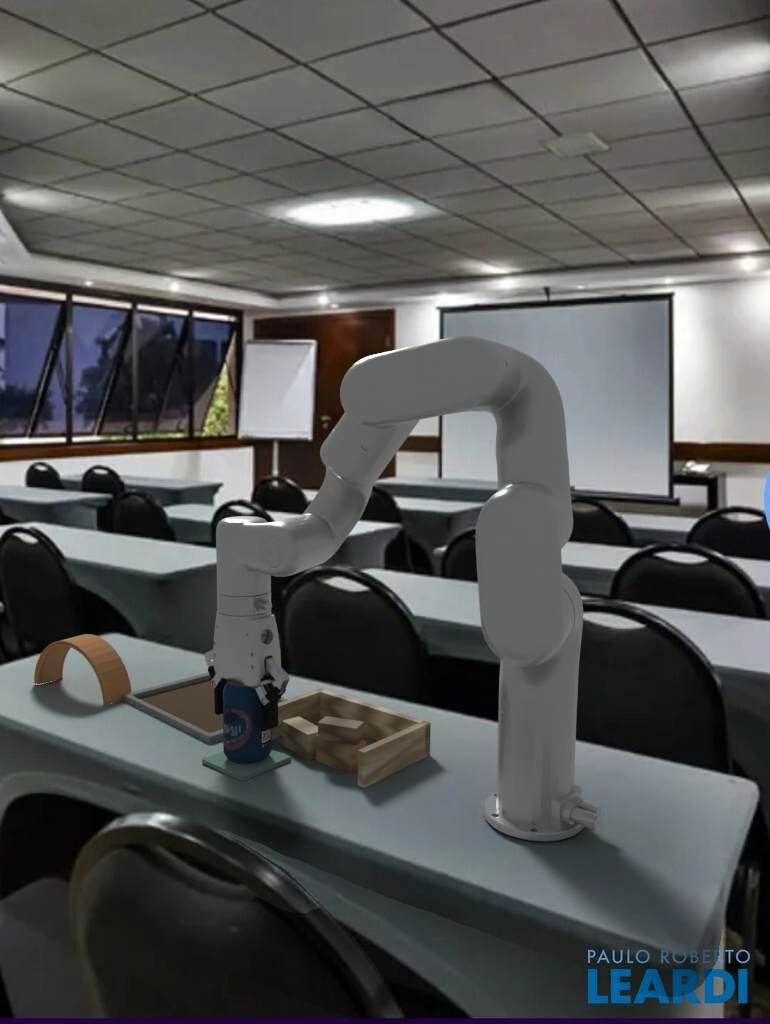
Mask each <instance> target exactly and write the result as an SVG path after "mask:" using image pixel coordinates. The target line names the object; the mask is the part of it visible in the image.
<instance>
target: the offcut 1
mask: <svg viewBox="0 0 770 1024" xmlns="http://www.w3.org/2000/svg"><path fill="white" fill-rule="evenodd" d="M316 735H318V725H316V724H313V723H311V722H309V721H307V720H305V719H303V718H301V717H299V716H298V717H295V718H291V719H287V720H283V721H282V736H281V739H282V741H281V742H282V744H281V745H282V746H283V747H285V748H286V749H288V750H290V751H291V752H294V753H295V754H297V755H298V756H300V757H302V758H303V759H305V760H306V761H309V760H313V759H316Z"/></svg>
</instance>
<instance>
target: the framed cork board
mask: <svg viewBox="0 0 770 1024" xmlns="http://www.w3.org/2000/svg"><path fill="white" fill-rule="evenodd" d="M211 681H212V678H211V676H210V674H209V672H208V671H207V672H206V673H202V674H197V675H193V676H189V677H186V678H182V679H177V680H174V681H173V680H172V681H171V682H166V683H162V684H159V685H155V686H150V687H147V688H142V689H140V690H135V691H132V692H131V693H127V694H123V700H122V701H123V702H125V703H127V704H129V705H131V706H133V707H134V708H137V709H139V710H141V711H143V712H145V713H147V714H149V715H151V716H152V717H153V716H154V717H155V718H156V719H159V720H161V721H163V722H165V723H167V724H169V725H171V726H173V727H175V728H178V729H179V730H181V731H183V732H185V733H187V734H189V735H190V736H193V737H195V738H197V739H199V740H201V741H203V742H205V743H207V744H210V745H211V744H214V743H218V742H221V741H223V714H220V715H217V714H215V702H214V688H216V687H213V686H212V684H211ZM286 700H288V699H287V698H285V697H283V696H281V699H280V700H278V703H280V702H283V701H286Z"/></svg>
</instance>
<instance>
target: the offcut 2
mask: <svg viewBox="0 0 770 1024" xmlns="http://www.w3.org/2000/svg"><path fill="white" fill-rule="evenodd" d="M366 745H367V743H366V740H363V739H362V740H361V741H360V742H359V743H358V744H357V745H354V744H348V743H341V742H335V741H329V740H323V739H318V735H316V758H315V761H316V762H318V763H321V764H323V765H326V766H329V767H331V768H333V769H336V770H339V771H342V772H344V773H346V774H350V775H353V774H355V773H358V750H360V749H362V748H364V747H366Z"/></svg>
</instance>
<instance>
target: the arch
mask: <svg viewBox="0 0 770 1024" xmlns="http://www.w3.org/2000/svg"><path fill="white" fill-rule="evenodd" d="M71 649H73V650H75V651H77V652H78V653H79V654H81V655H82V657H84V658H85V659H86V661H87V662H88V663H89V665H90V667H91V668H92V669H93V671H94V673H95V676H96V678H97V681H98V683H99V687H100V690H101V695H102V704H103V705H104V706H105V705H107V706H109V704H110V705H112V704H111V703H113V704H115V703H114V702H116V703H118V702H121V701H123V694H127V693H131V692H133V691H132V686H131V680H130V677H129V673H128V671H127V668H126V666H125V664H124V661H123V660H122V658H121V656H120V655H119V653H118V652H117V651H116V649H115V648H114V647H113V646H112V645H111V644H110V643H109V642H108V641H106V639H104V638H102V637H100V636H99V635H95V634H91V633H89V634H88V633H85V634H80V635H76V636H73V637H69V638H65V639H61V640H57V641H54V642H51V643H49V644H48V645H46V647H45V648H44V649H43V650H42V651H41V653H40V655H39V657H38V659H37V661H36V665H35V669H34V675H33V683H35V684H36V683H37V684H40V683H41V684H42V683H46V682H50V681H53V682H55V681H54V680H56V681H59V680H58V679H60V678H62V679H63V678H64V677H63V675H64V674H63V673H64V672H63V671H64V666H65V661H66V658H67V656H68V653H69V651H71ZM60 680H61V679H60ZM50 683H51V682H50Z"/></svg>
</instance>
